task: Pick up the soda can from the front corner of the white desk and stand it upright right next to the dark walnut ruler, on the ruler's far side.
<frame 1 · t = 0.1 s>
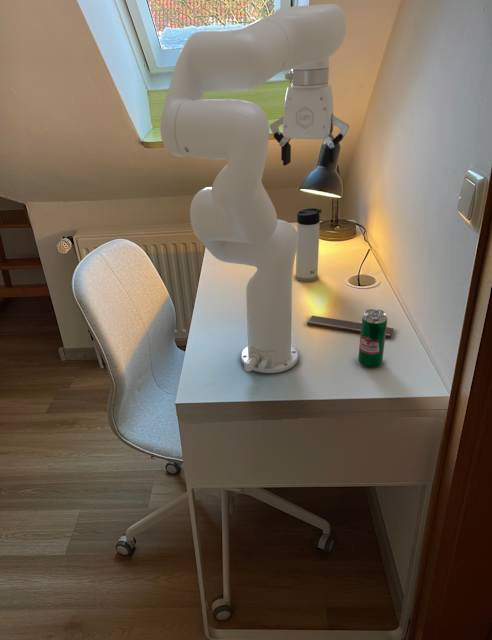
hand: (307, 165, 121), 37 cm above the table, tool pointing down, fingers open, 9 cm apart
travel mug: (307, 278, 159), on the table
ruler: (349, 328, 132), on the table
soda can: (369, 363, 119), on the table
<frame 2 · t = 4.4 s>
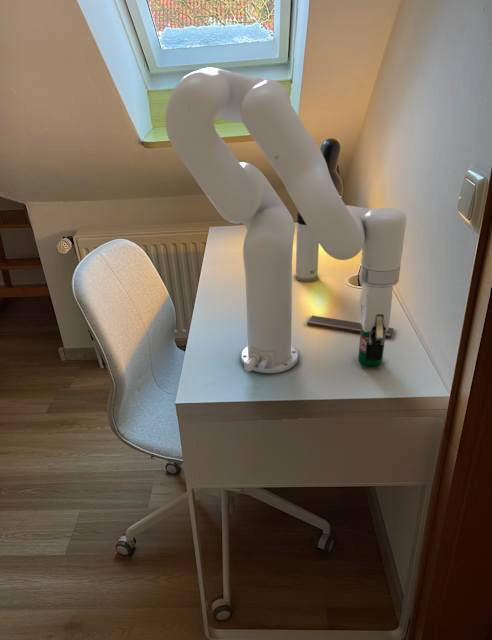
hand: (371, 351, 117), 3 cm above the table, tool pointing down, fingers closed on soda can, 5 cm apart
soda can: (369, 363, 119), on the table, touching gripper
everything else where it was.
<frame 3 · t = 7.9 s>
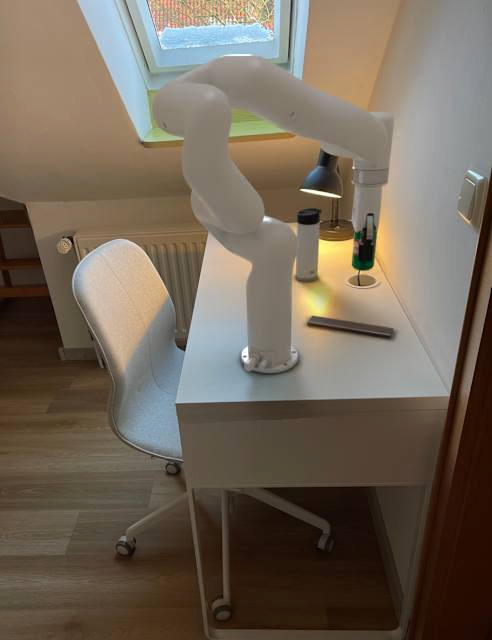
hand: (363, 255, 126), 17 cm above the table, tool pointing down, fingers closed on soda can, 5 cm apart
soda can: (362, 268, 128), point 14 cm above the table, touching gripper
everything else where it was.
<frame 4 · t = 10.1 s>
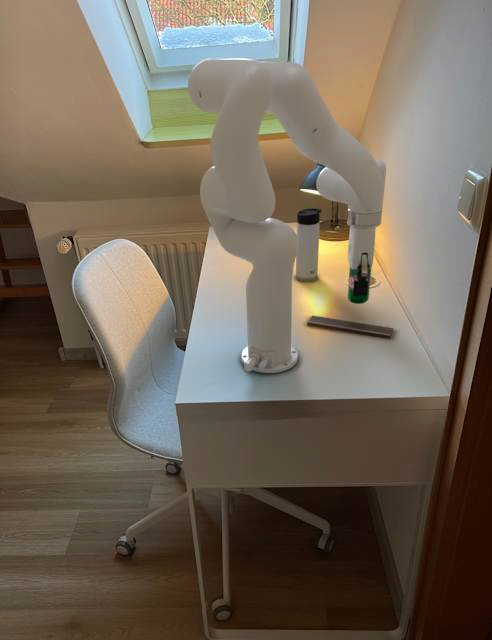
hand: (358, 289, 133), 7 cm above the table, tool pointing down, fingers closed on soda can, 5 cm apart
soda can: (357, 301, 135), point 4 cm above the table, touching gripper
everything else where it was.
when the fingers open (3 cm above the table, at t = 11.6 s): soda can stays where it is, on the table.
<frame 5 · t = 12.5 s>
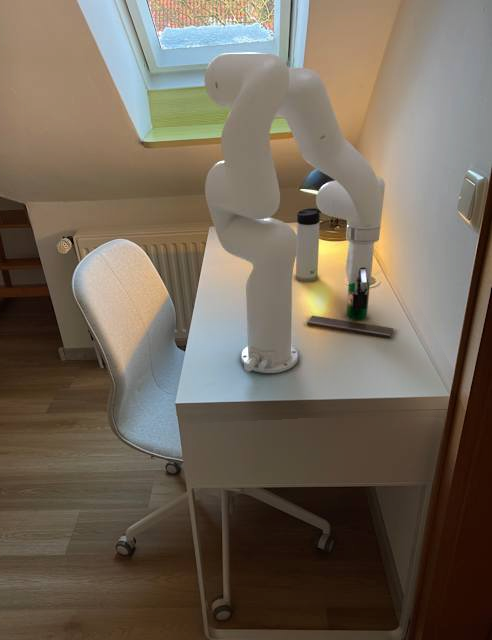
hand: (356, 300, 135), 5 cm above the table, tool pointing down, fingers open, 9 cm apart
soda can: (356, 317, 137), on the table
everything else where it was.
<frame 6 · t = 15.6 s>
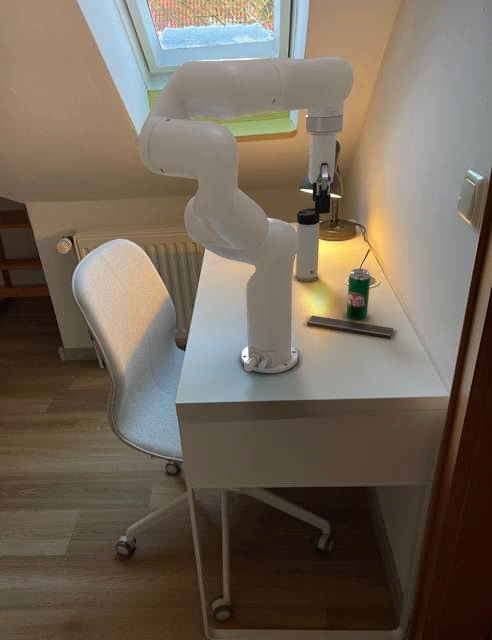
hand: (320, 206, 122), 28 cm above the table, tool pointing down, fingers open, 9 cm apart
nothing on the table moved.
at the end: soda can inside the target area on the table beside the ruler (0.4 cm from its centre), on the table; soda can tilted 0°; the gripper is holding nothing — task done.
